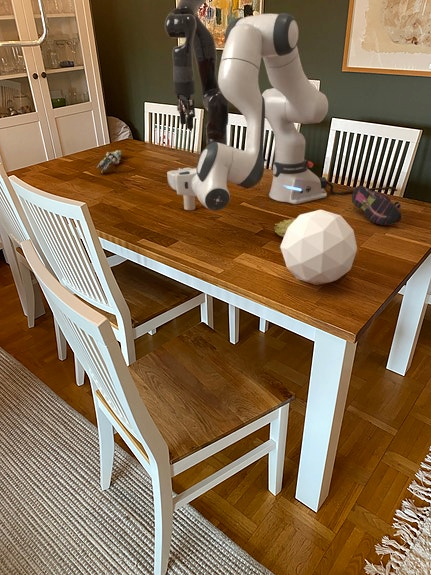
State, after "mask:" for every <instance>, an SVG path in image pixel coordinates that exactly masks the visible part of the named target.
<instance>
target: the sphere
mask: <svg viewBox="0 0 431 575" xmlns="http://www.w3.org/2000/svg"><path fill="white" fill-rule="evenodd" d="M294 219H295V220H294V222H293V223H292V224H291V225H290V226H289V227H288V228H287V231H286V233H285V235H284V237H282V238H283V239H282V241H281V243H280V246H279V248H280V251H281V253H282V257H283V260H284V262H285V266H286V268H287V270H289V272H290V273H291V274H292V275H293V277H294V278H295V279H296V280H299V281H302V282H306V283H309V284H312V285H315V286H318V285H323V284H328V283H332V282H335V281H338V280H339V279H340V278H342V276H345V274H346V273H348V272H350V270H351V269H352V266H353V263H354V260H355V258H356V255H357V251H358V246H357V240H356V235H355V230H354V229H353V228H352V227H351V225H349V223H348V222H347V221H346V220H345V219H344V217H343V216H342V215H340V214H338V213H334V212H331V211H327V210H324V209H318V210H313V211H309V212H306V213H301V214H299V215H298V216H297V217H296V218H294Z"/></svg>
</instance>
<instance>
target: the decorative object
mask: <svg viewBox="0 0 431 575" xmlns="http://www.w3.org/2000/svg"><path fill="white" fill-rule="evenodd" d="M295 219H296V218H292V219H283V221H279V223H274V227H273V229H274V233H276V234H277V236H279V237H282V238H284V236H285V233H286V231H287V228H288V227H289V226H290V225H291V224H292V223H293V222H294V220H295Z"/></svg>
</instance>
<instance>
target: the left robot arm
mask: <svg viewBox="0 0 431 575" xmlns="http://www.w3.org/2000/svg"><path fill="white" fill-rule="evenodd" d="M206 1H207V0H179V2H178V4H177V6H176V7H175V8H174V9H173V10H172V11H170V12H169V13H168V14H167V16H166V18H165V21H164V30H165V33H166V35H167V36H168V37H169V38H171V39H185V41H184V43H183V44H181V45H177V46H174V47H173V48H172V52H171V54H172V76H173V77H172V79H173V91H174V95H176V108H177V109H176V111H177V112H178V114H179V122H180V125H186V129H188V130H193V129H194V118H196V109H195V108H196V107H195V98H194V99H191V98H192V95H194V94H196V82H195V81H196V80H195V69H194V60H195V64H196V68H197V73H198V76H199V80H200V86H201V93H202V94H201V96H202V97H201V98H202V104H203V107H204V109H205V110H206V111H207V123H206V125H205V128H206V129H205V134H206V147H207V146H208V145H209V144H211V143H213V142H218V143H221V144H225V145H228V124H229V112H230V110H229V101H228V100H227V99H226V98H225V97H224V95H223V94H222V92H221V90H220V88H219V85H218V75H217V69H218V53H217V46H216V41H215V37H214V35H213V34H212V32H211V31H210V30H209V28H208V27H207V26H206V25H205V24H204V22H202V20H201V19H200V17H199V16H198V14H197V13H198V11H199V10H200V8H201V7H202V6H203V4H204V3H205V2H206ZM263 159H264V162H267V159H266V158H265V157H263Z"/></svg>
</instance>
